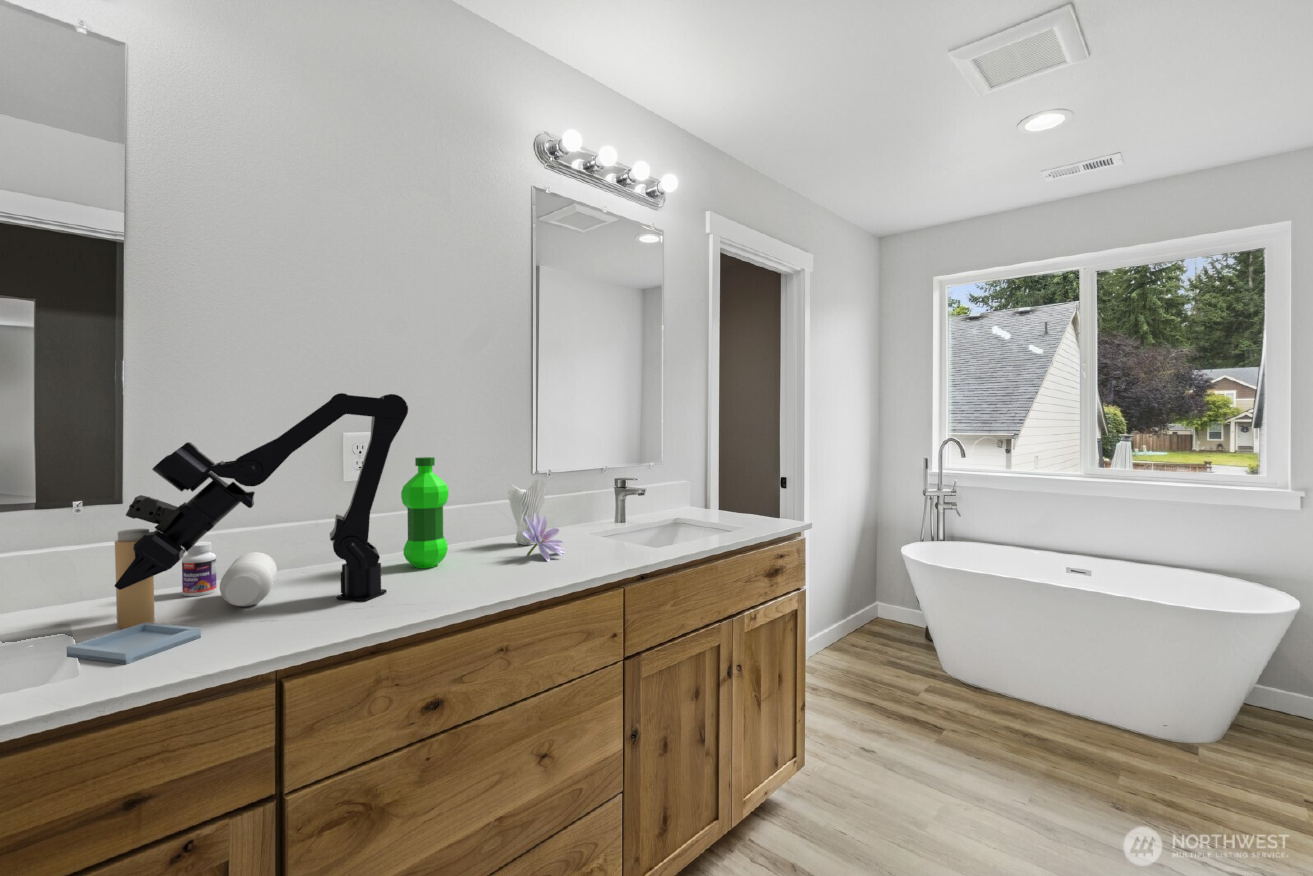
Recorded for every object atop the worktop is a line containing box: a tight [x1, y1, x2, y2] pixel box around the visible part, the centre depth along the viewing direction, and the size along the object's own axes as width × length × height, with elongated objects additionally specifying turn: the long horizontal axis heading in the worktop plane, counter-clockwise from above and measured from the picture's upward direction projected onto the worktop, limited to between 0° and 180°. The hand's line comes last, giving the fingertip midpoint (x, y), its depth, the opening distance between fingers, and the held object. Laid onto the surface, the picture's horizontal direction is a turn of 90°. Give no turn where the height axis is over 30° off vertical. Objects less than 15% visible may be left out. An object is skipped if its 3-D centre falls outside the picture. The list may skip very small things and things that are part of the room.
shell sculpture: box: [507, 477, 547, 546], centre depth 169 cm, size 8×8×18 cm
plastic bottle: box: [400, 456, 450, 569], centre depth 145 cm, size 10×10×25 cm
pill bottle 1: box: [181, 541, 217, 597], centre depth 122 cm, size 5×5×10 cm
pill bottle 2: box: [219, 551, 278, 608], centre depth 116 cm, size 8×8×15 cm
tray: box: [66, 622, 202, 665], centre depth 93 cm, size 11×11×2 cm
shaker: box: [114, 528, 156, 630], centre depth 104 cm, size 5×5×16 cm
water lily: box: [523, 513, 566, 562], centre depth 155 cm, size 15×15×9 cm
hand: (124, 581), depth 103 cm, fingers open, 9 cm apart
